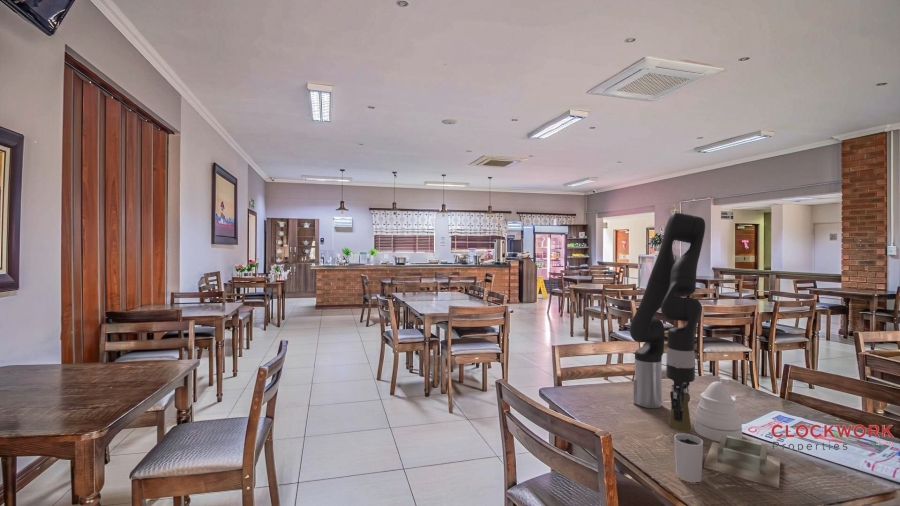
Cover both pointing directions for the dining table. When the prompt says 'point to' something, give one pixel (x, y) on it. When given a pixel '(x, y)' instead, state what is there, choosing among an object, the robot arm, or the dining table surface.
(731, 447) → the stand
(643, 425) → the dining table surface
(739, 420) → the honey pot
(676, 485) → the dining table surface
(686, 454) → the white cup
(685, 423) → the brown rounded tapered piece
